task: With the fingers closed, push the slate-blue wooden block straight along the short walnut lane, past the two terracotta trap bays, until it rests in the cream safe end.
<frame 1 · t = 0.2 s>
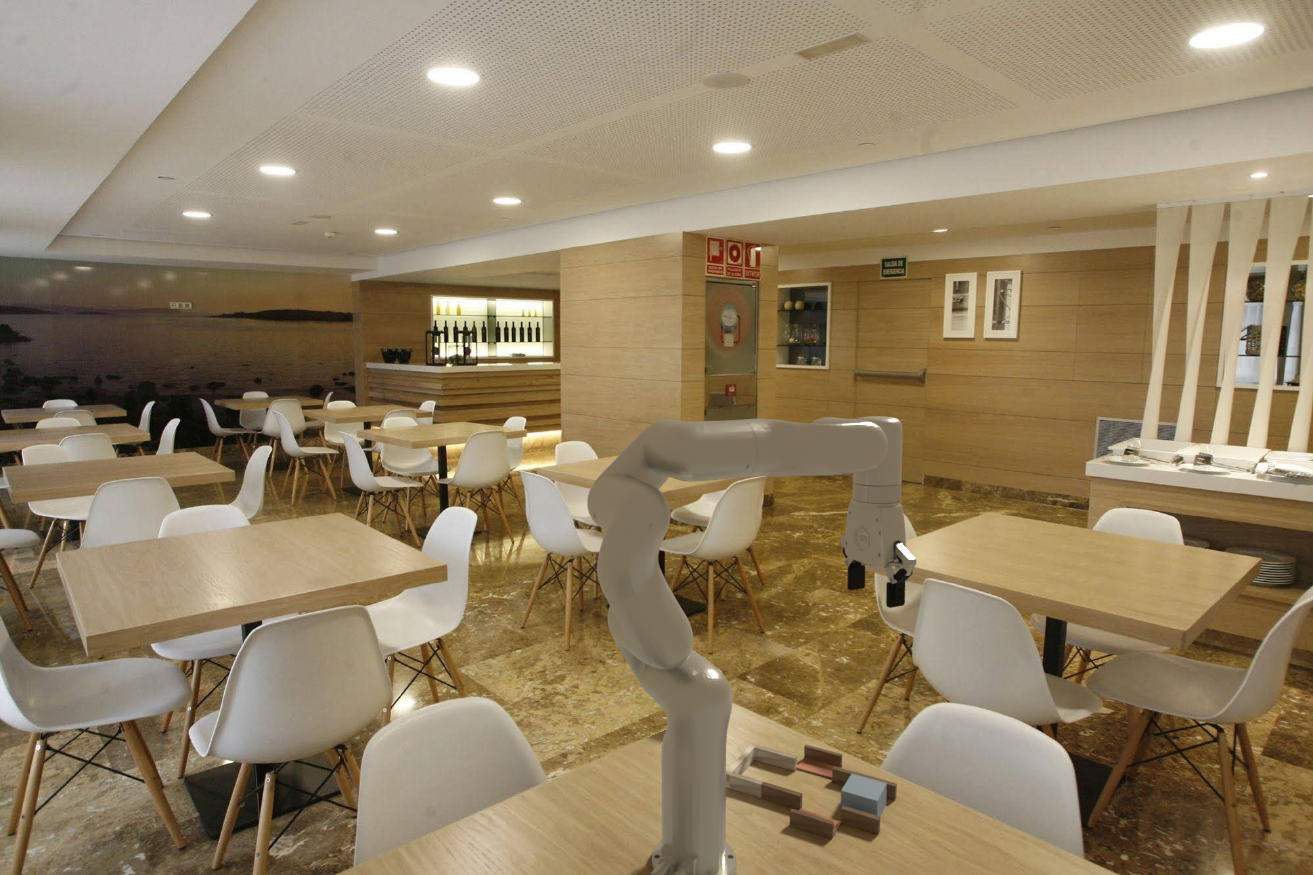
hand: (875, 597, 123), 37 cm above the table, tool pointing down, fingers open, 9 cm apart
slate block: (863, 809, 128), on the table
white cup: (703, 719, 160), on the table
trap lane: (828, 797, 131), on the table
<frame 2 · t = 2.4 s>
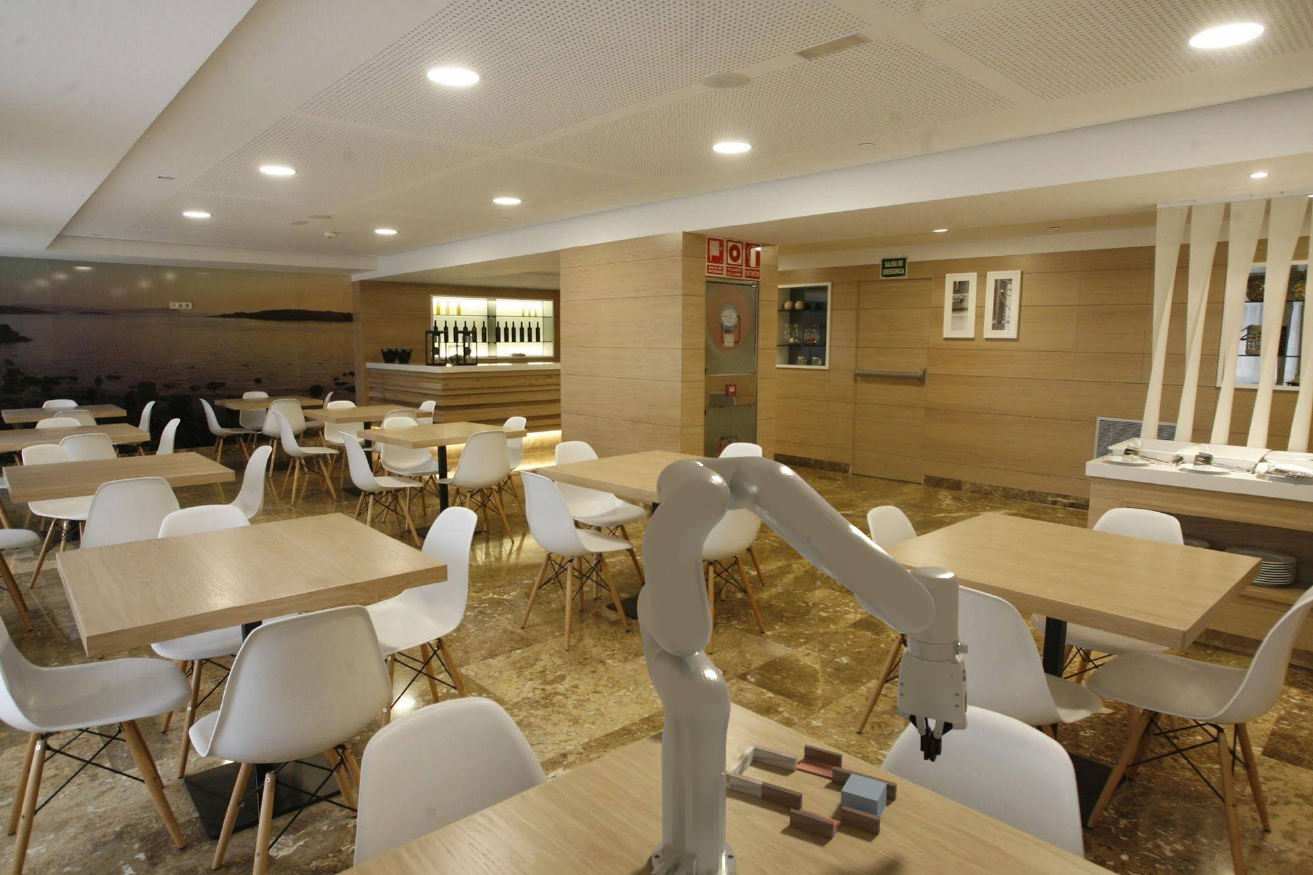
hand: (930, 756, 121), 12 cm above the table, tool pointing down, fingers closed
nothing on the table moved.
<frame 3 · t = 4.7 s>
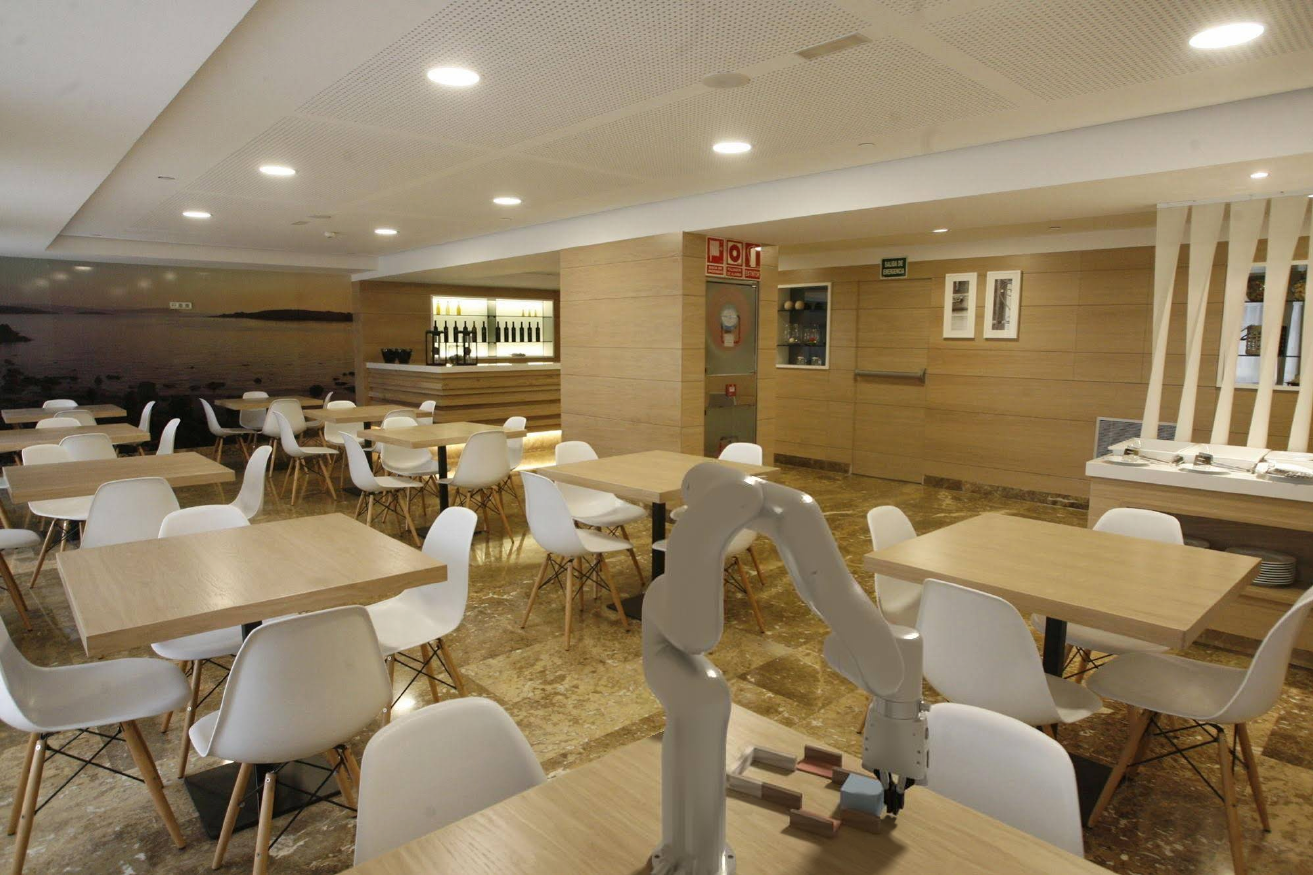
hand: (893, 810, 125), 1 cm above the table, tool pointing down, fingers closed
slate block: (862, 808, 128), on the table, touching gripper
everything else where it was.
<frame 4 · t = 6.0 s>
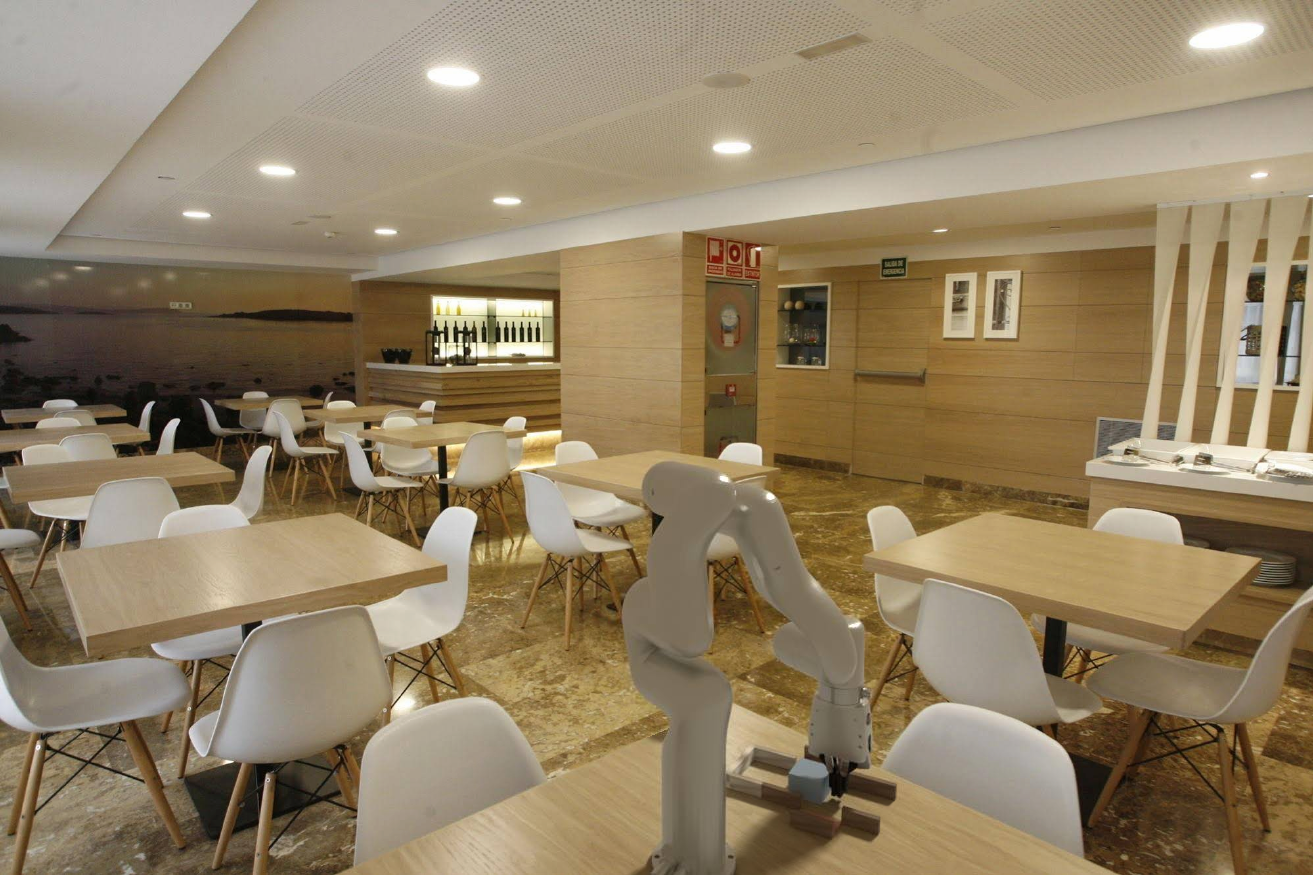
hand: (838, 793, 130), 1 cm above the table, tool pointing down, fingers closed
slate block: (810, 791, 133), on the table, touching gripper
everything else where it was.
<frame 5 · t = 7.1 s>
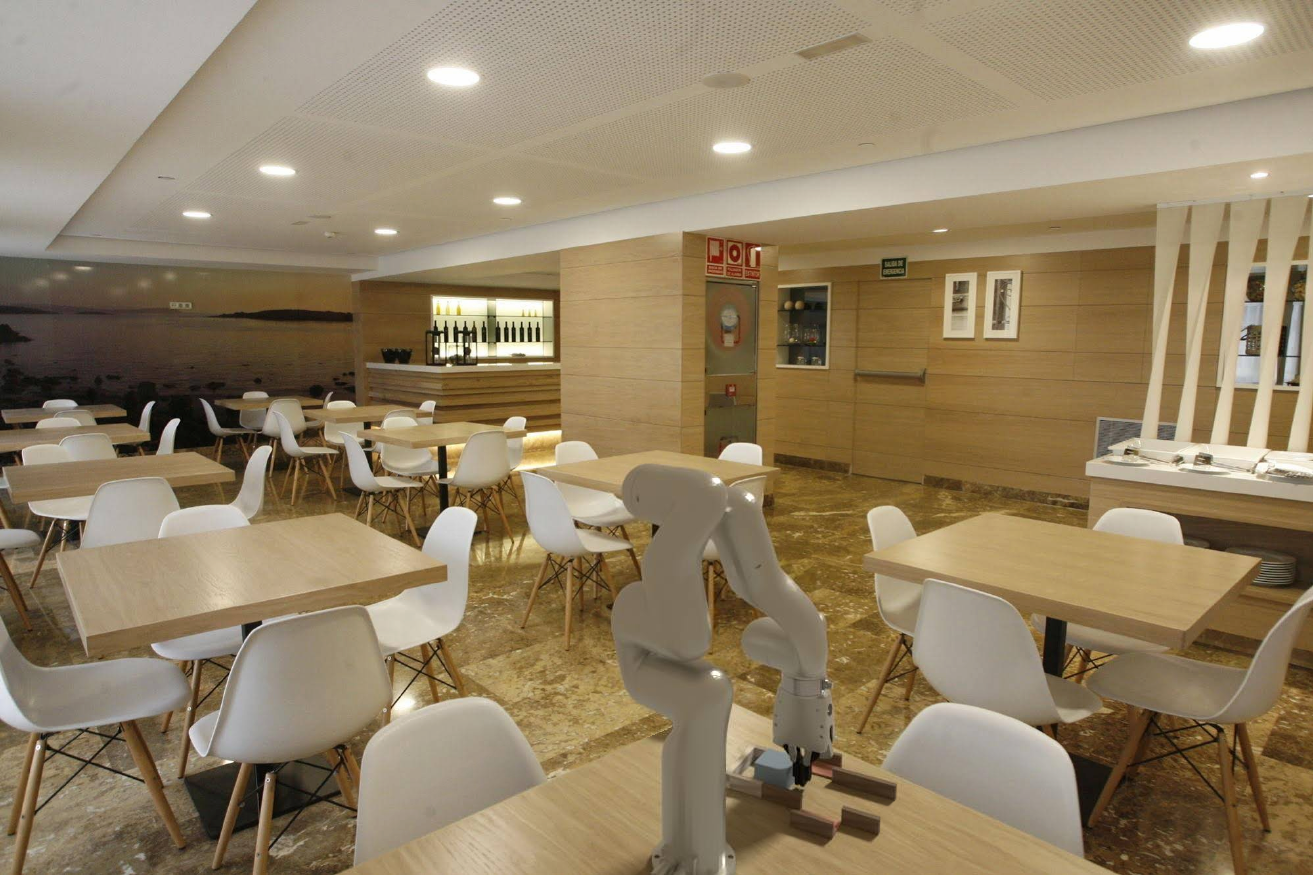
hand: (802, 782, 133), 1 cm above the table, tool pointing down, fingers closed
slate block: (776, 780, 136), on the table
everything else where it was.
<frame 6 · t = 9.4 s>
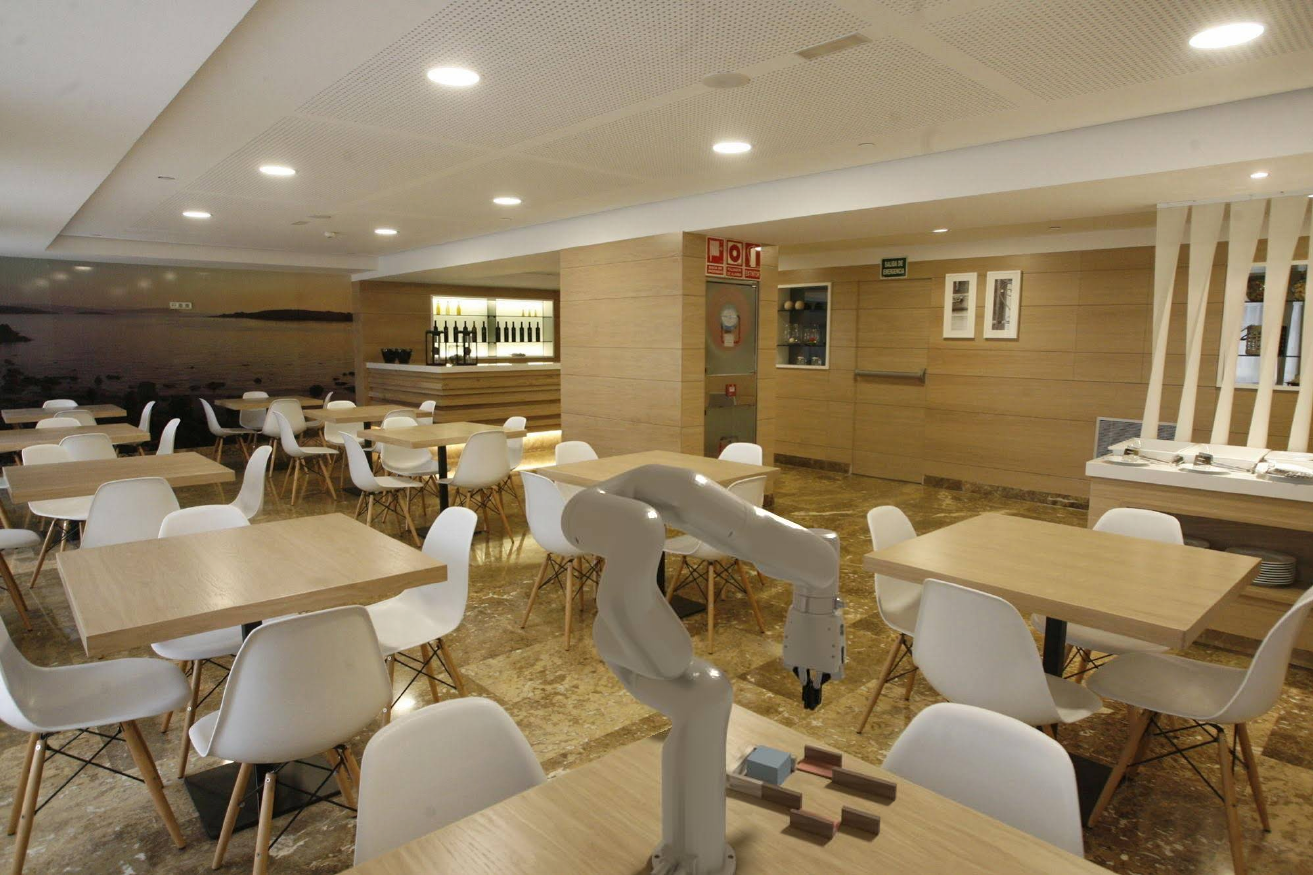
hand: (811, 706, 130), 16 cm above the table, tool pointing down, fingers closed
slate block: (768, 777, 137), on the table
everything else where it was.
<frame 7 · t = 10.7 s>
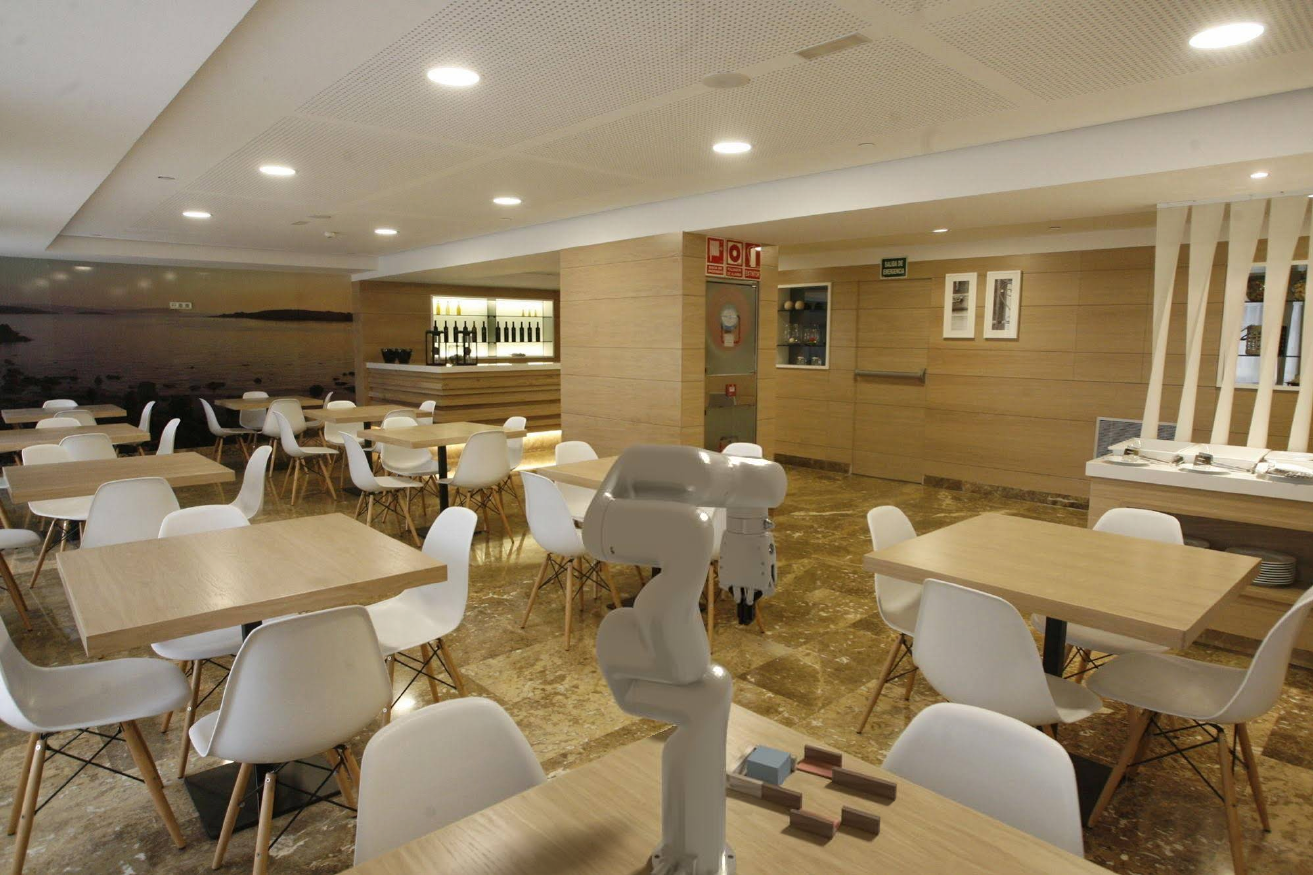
hand: (746, 622, 139), 27 cm above the table, tool pointing down, fingers closed
nothing on the table moved.
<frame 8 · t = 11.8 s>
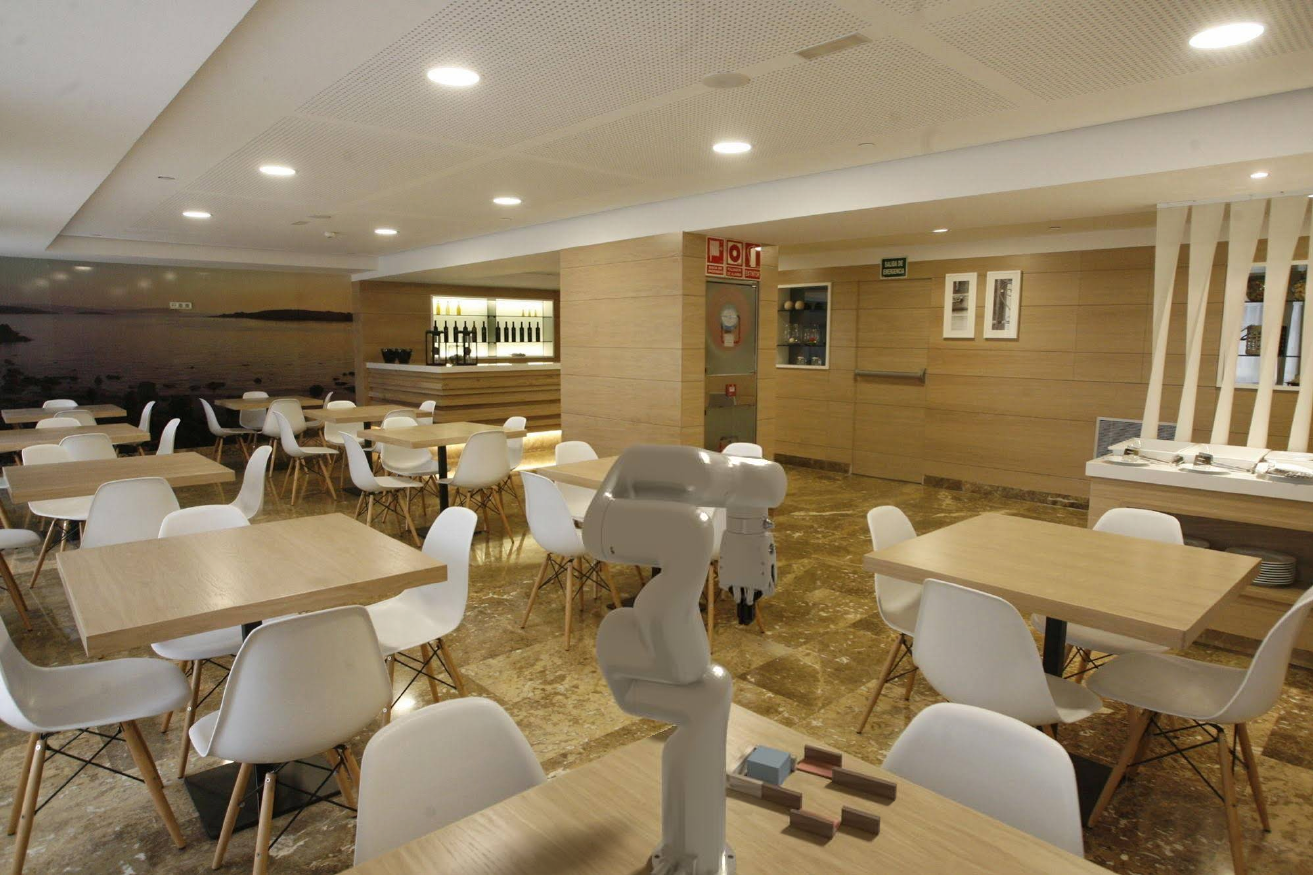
hand: (746, 622, 139), 27 cm above the table, tool pointing down, fingers closed
nothing on the table moved.
at the end: slate block inside the target area (1.2 cm from its centre), on the table; slate block tilted 0° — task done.
